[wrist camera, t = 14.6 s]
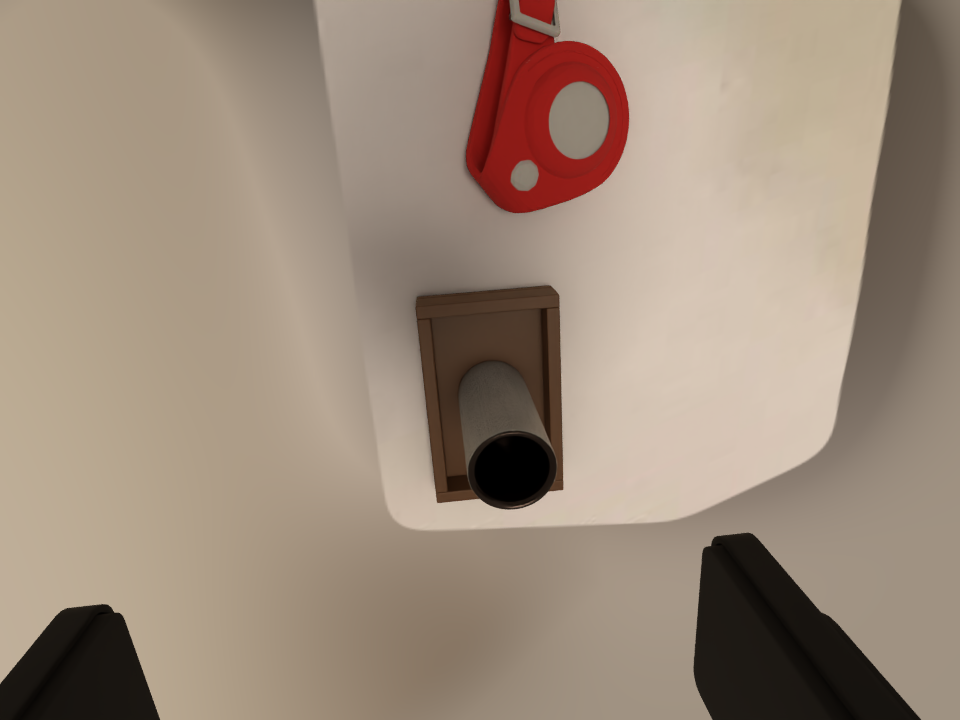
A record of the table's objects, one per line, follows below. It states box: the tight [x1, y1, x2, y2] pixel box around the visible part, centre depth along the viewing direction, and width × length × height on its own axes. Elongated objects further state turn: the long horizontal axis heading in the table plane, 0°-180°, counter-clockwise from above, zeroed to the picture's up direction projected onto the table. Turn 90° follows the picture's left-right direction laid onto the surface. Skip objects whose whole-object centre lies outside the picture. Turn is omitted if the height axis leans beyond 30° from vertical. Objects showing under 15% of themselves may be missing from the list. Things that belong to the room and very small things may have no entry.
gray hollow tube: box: [458, 361, 557, 509], centre depth 33 cm, size 4×4×10 cm
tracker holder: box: [466, 0, 629, 213], centre depth 31 cm, size 12×4×10 cm
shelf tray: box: [416, 286, 563, 503], centre depth 37 cm, size 14×9×3 cm, turn 4°
